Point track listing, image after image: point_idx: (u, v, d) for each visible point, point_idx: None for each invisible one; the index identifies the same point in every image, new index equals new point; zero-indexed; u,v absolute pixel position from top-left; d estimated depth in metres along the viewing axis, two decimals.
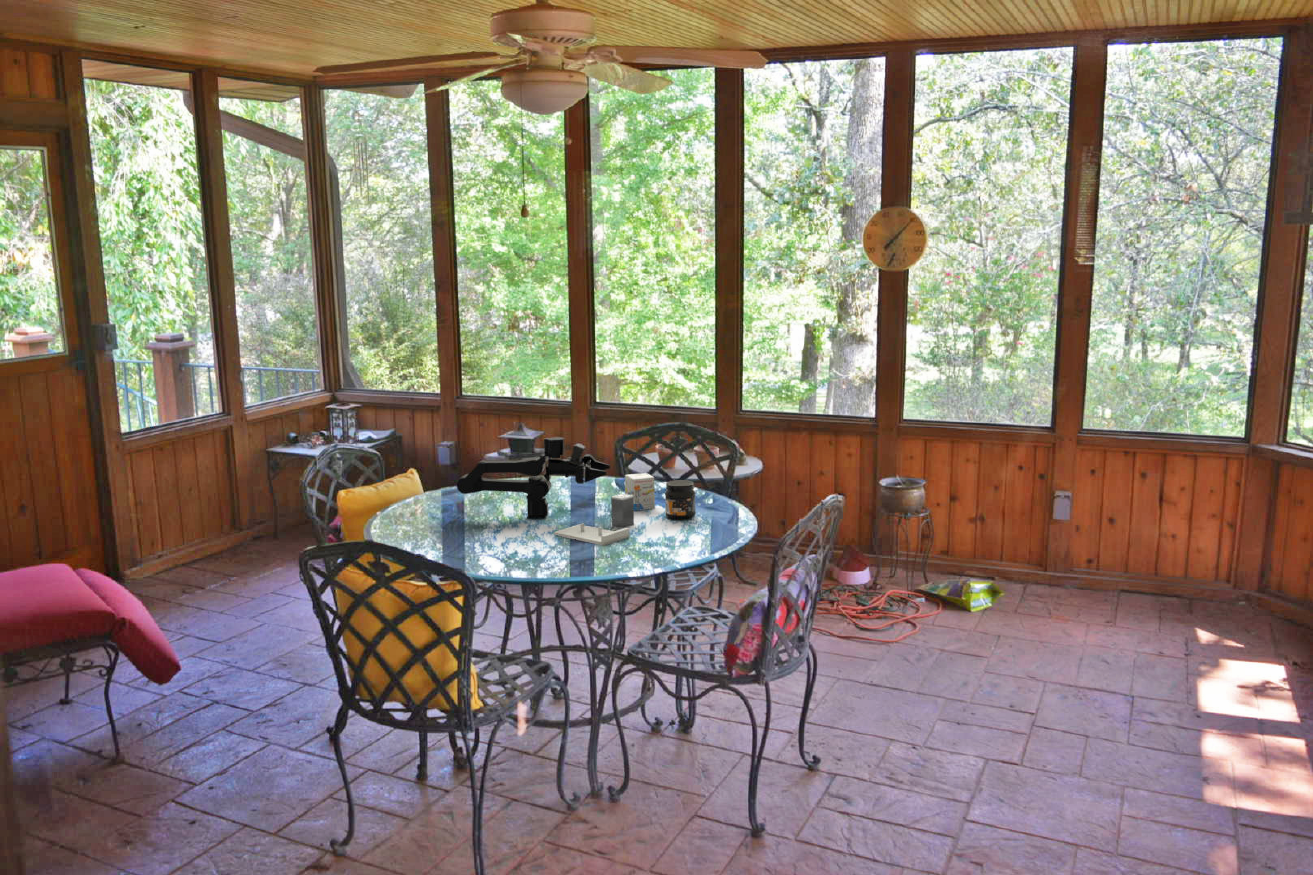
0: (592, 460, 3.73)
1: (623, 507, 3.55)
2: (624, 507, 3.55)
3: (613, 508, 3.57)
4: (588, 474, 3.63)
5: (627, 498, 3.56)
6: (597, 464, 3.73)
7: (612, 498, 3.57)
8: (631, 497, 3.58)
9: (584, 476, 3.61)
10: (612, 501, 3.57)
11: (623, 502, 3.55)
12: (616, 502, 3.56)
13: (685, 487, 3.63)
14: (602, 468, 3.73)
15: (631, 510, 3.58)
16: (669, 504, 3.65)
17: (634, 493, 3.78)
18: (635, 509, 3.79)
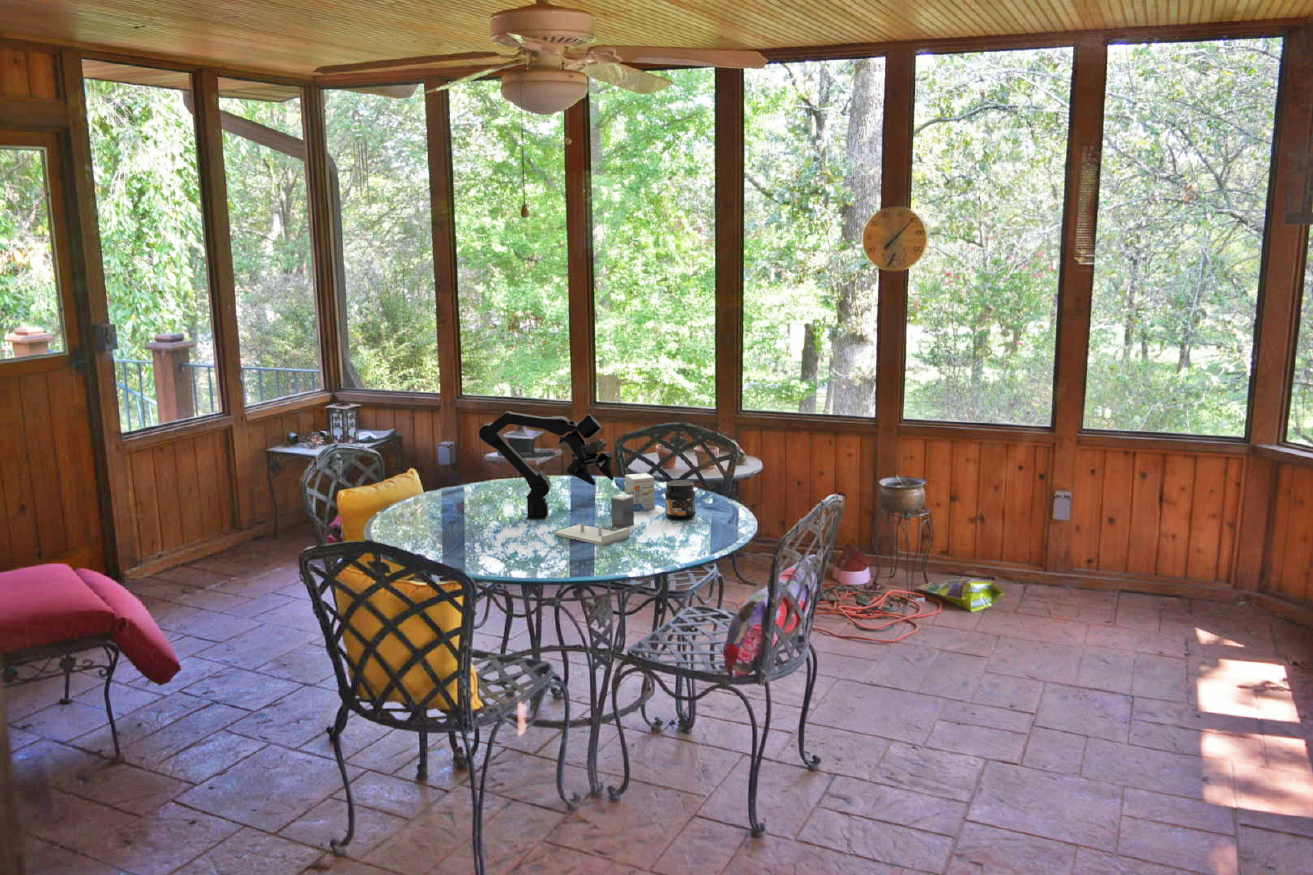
0: (606, 462, 3.67)
1: (623, 507, 3.55)
2: (624, 507, 3.55)
3: (613, 508, 3.57)
4: (581, 472, 3.60)
5: (627, 498, 3.56)
6: (606, 468, 3.67)
7: (612, 498, 3.57)
8: (631, 497, 3.58)
9: (575, 471, 3.59)
10: (612, 501, 3.57)
11: (623, 502, 3.55)
12: (616, 502, 3.56)
13: (685, 487, 3.63)
14: (607, 475, 3.67)
15: (631, 510, 3.58)
16: (669, 504, 3.65)
17: (634, 493, 3.78)
18: (635, 509, 3.79)
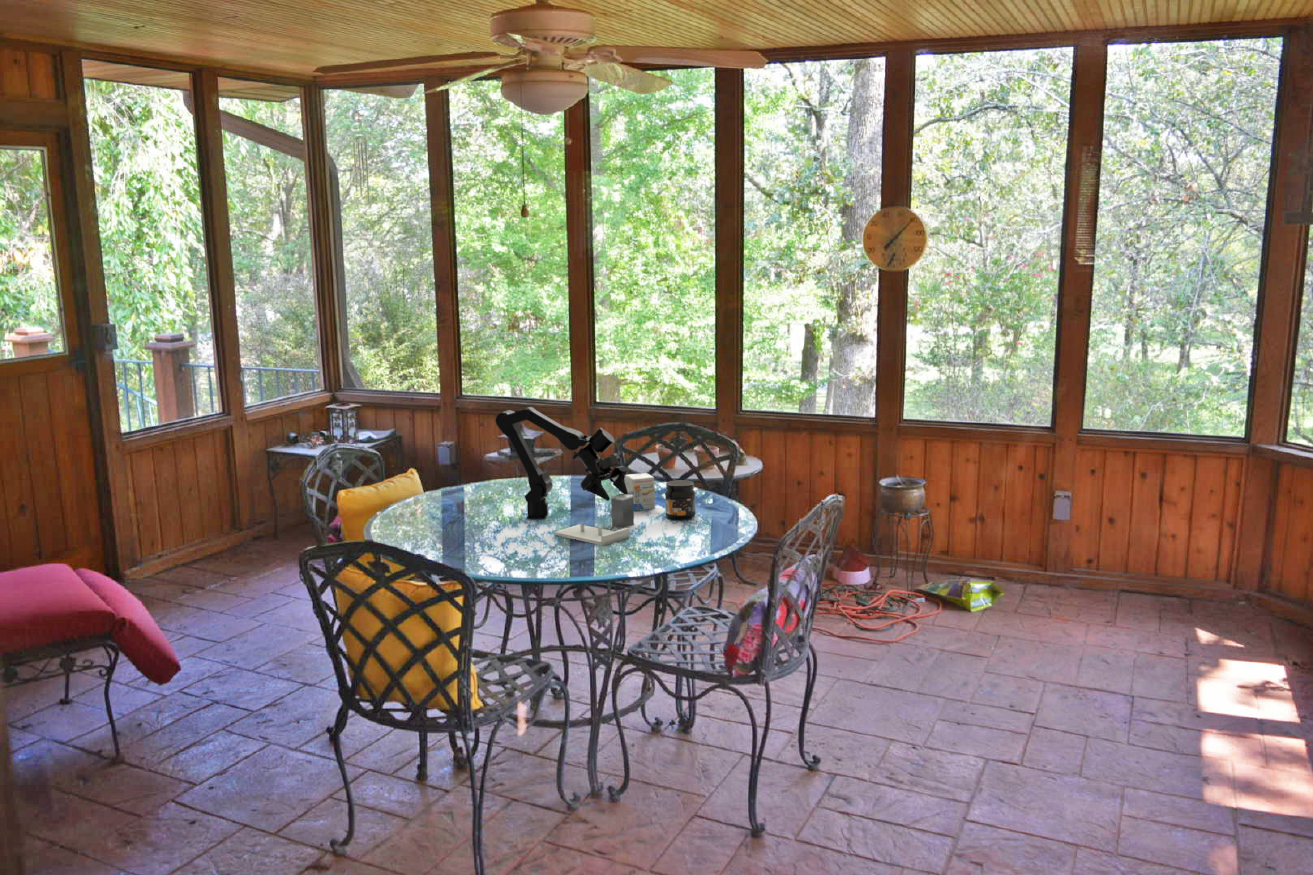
0: (620, 476, 3.64)
1: (623, 507, 3.55)
2: (624, 507, 3.55)
3: (613, 508, 3.57)
4: (595, 487, 3.57)
5: (627, 498, 3.56)
6: (620, 483, 3.64)
7: (612, 498, 3.57)
8: (631, 497, 3.58)
9: (589, 486, 3.56)
10: (612, 501, 3.57)
11: (623, 502, 3.55)
12: (616, 502, 3.56)
13: (685, 487, 3.63)
14: (621, 489, 3.64)
15: (631, 510, 3.58)
16: (669, 504, 3.65)
17: (634, 493, 3.78)
18: (635, 509, 3.79)
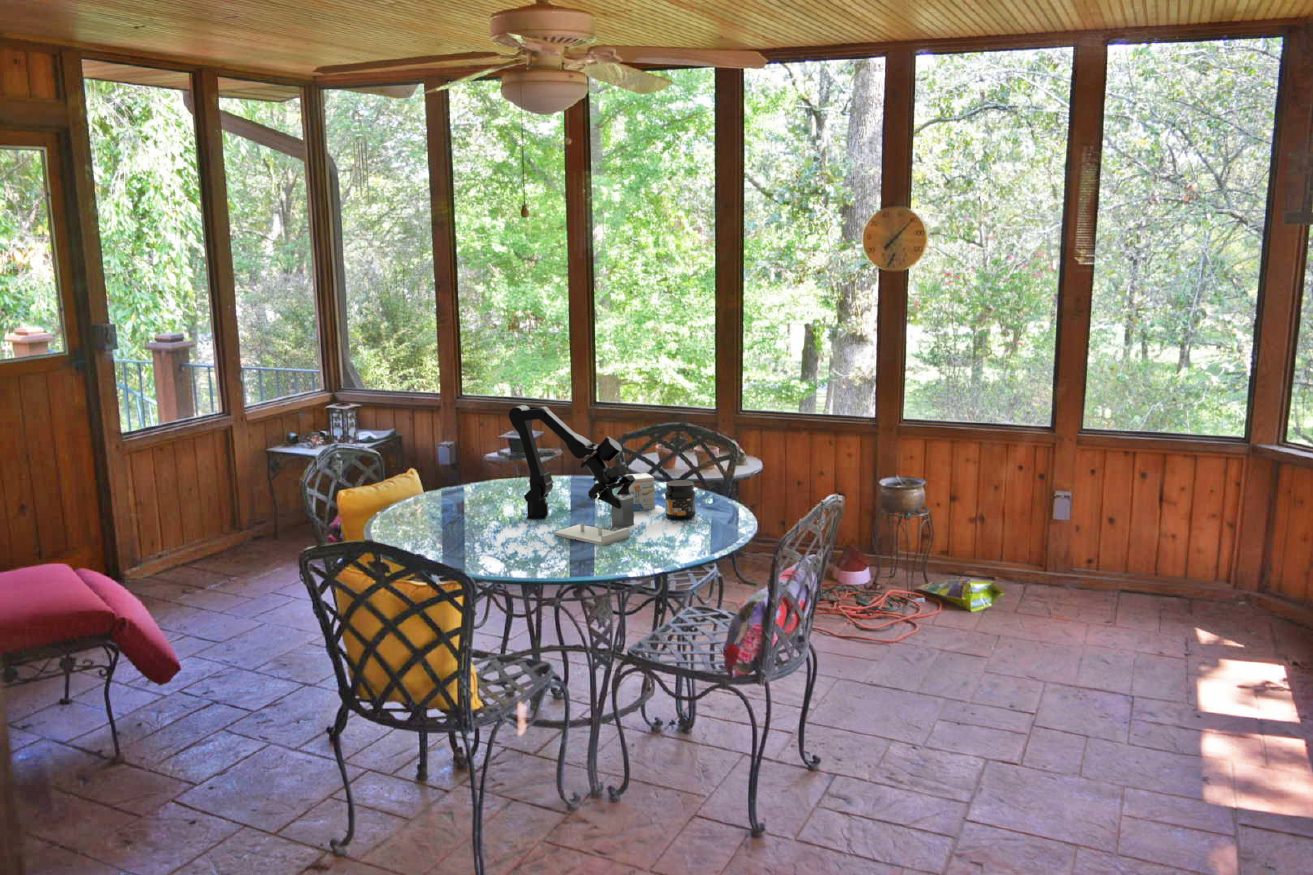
0: (624, 486, 3.61)
1: (623, 507, 3.55)
2: (624, 507, 3.55)
3: (613, 508, 3.57)
4: (606, 495, 3.56)
5: (627, 498, 3.56)
6: (625, 493, 3.61)
7: None
8: (631, 497, 3.58)
9: (600, 494, 3.55)
10: None
11: (623, 502, 3.55)
12: None
13: (685, 487, 3.63)
14: None
15: (631, 510, 3.58)
16: (669, 504, 3.65)
17: (634, 493, 3.78)
18: (635, 509, 3.79)
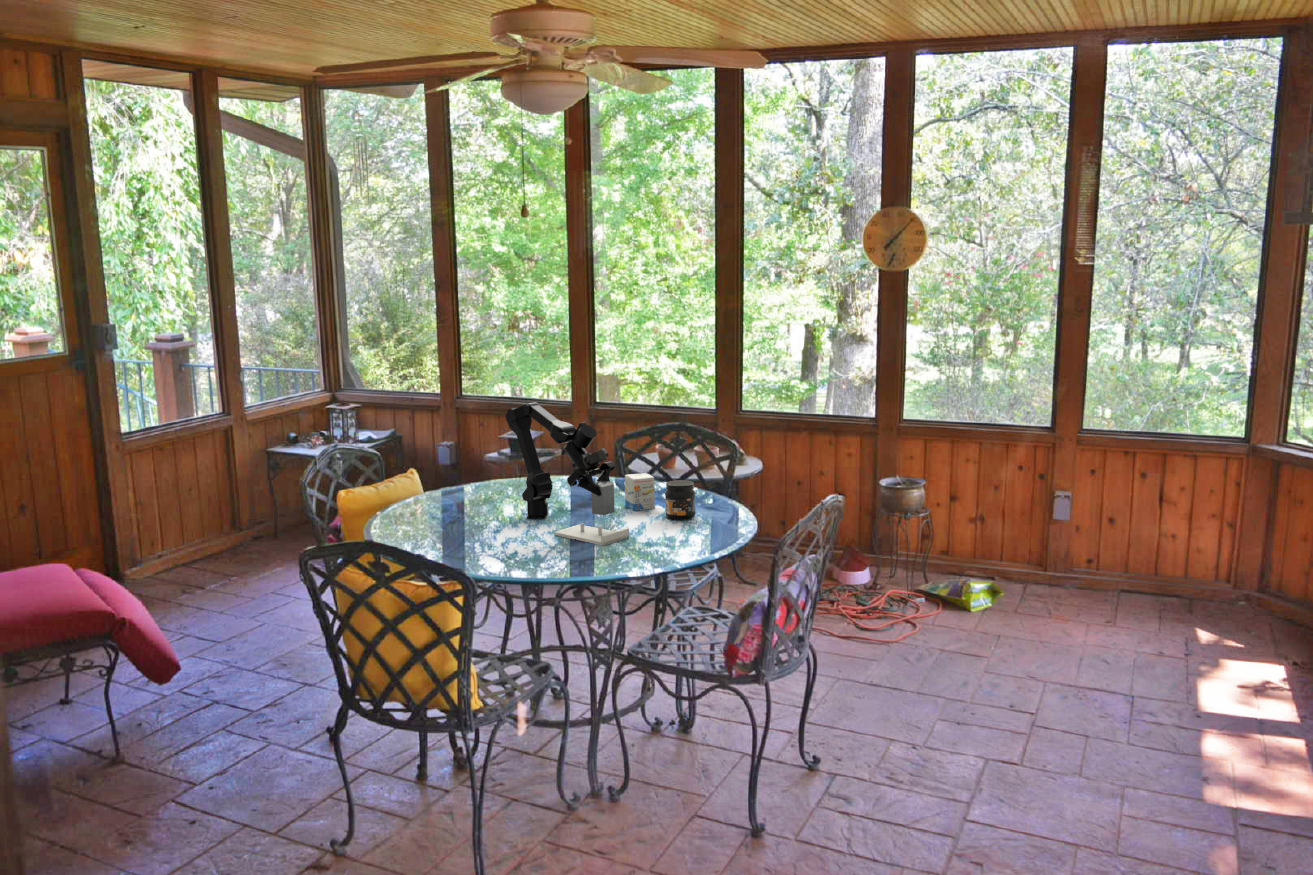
0: (604, 473, 3.52)
1: (603, 494, 3.46)
2: (604, 494, 3.46)
3: (593, 495, 3.48)
4: (586, 482, 3.47)
5: (607, 485, 3.47)
6: (605, 480, 3.52)
7: None
8: (612, 484, 3.48)
9: (579, 481, 3.46)
10: None
11: (603, 489, 3.45)
12: None
13: (685, 487, 3.63)
14: None
15: (612, 497, 3.49)
16: (669, 504, 3.65)
17: (634, 493, 3.78)
18: (635, 509, 3.79)
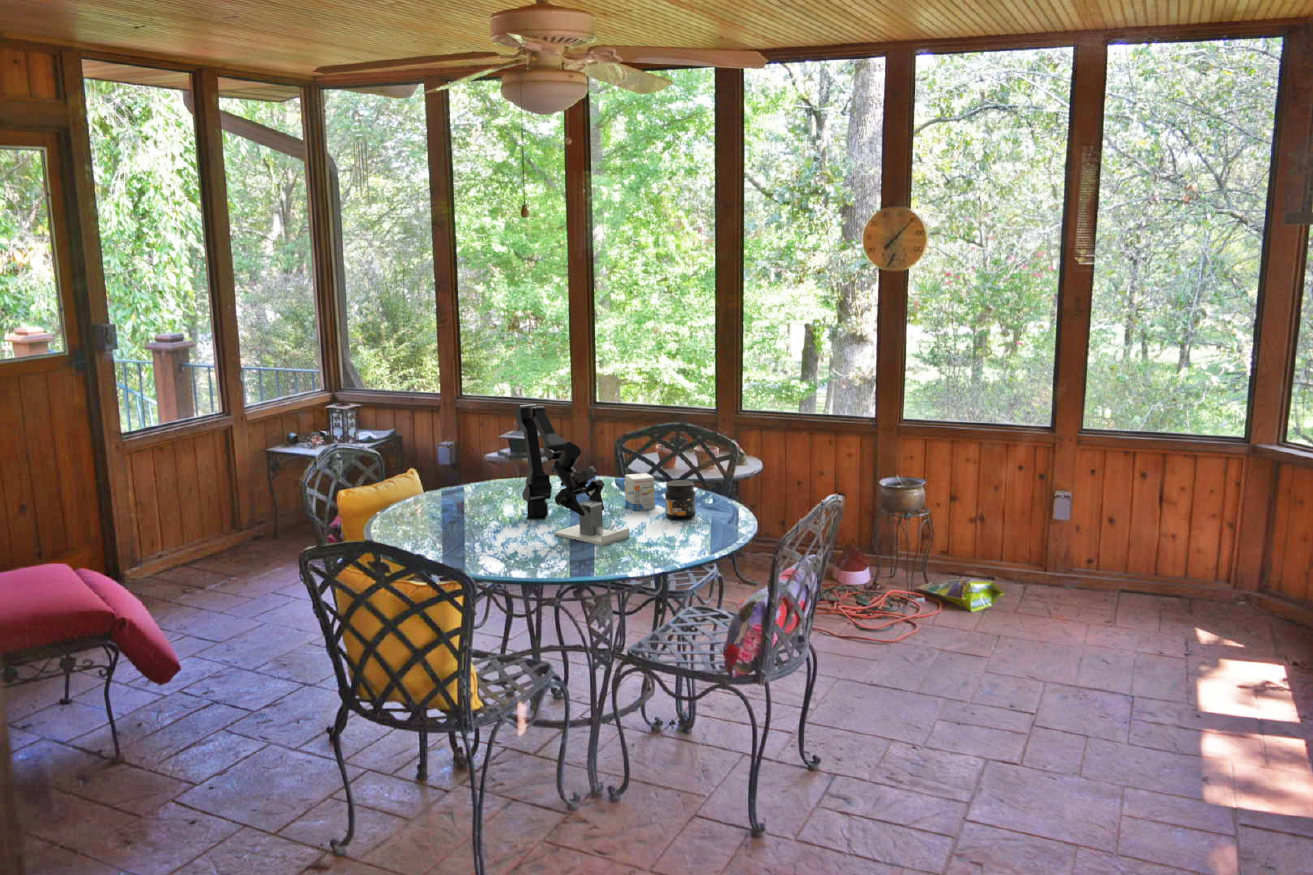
0: (596, 491, 3.49)
1: (591, 514, 3.41)
2: (592, 515, 3.42)
3: None
4: (570, 502, 3.42)
5: (595, 505, 3.43)
6: (597, 497, 3.49)
7: (580, 505, 3.43)
8: (600, 504, 3.44)
9: (563, 501, 3.41)
10: None
11: (591, 510, 3.41)
12: (584, 510, 3.43)
13: (685, 487, 3.63)
14: None
15: (600, 518, 3.45)
16: (669, 504, 3.65)
17: (634, 493, 3.78)
18: (635, 509, 3.79)
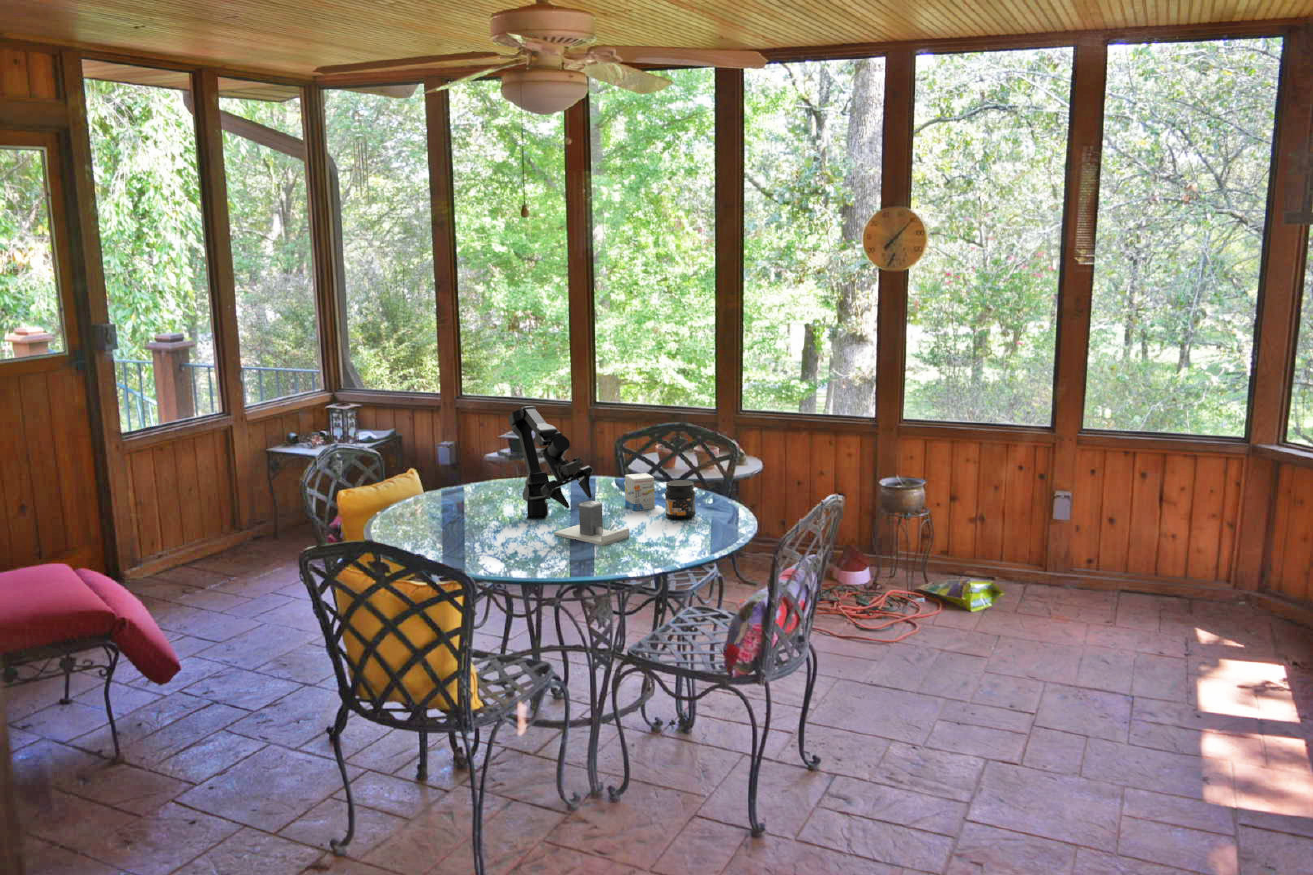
0: (584, 479, 3.54)
1: (591, 514, 3.41)
2: (592, 515, 3.42)
3: (581, 515, 3.44)
4: (556, 494, 3.49)
5: (595, 505, 3.43)
6: (585, 485, 3.54)
7: (580, 505, 3.43)
8: (600, 504, 3.44)
9: (549, 493, 3.48)
10: (580, 508, 3.44)
11: (591, 510, 3.41)
12: (584, 510, 3.43)
13: (685, 487, 3.63)
14: (585, 492, 3.55)
15: (600, 518, 3.45)
16: (669, 504, 3.65)
17: (634, 493, 3.78)
18: (635, 509, 3.79)
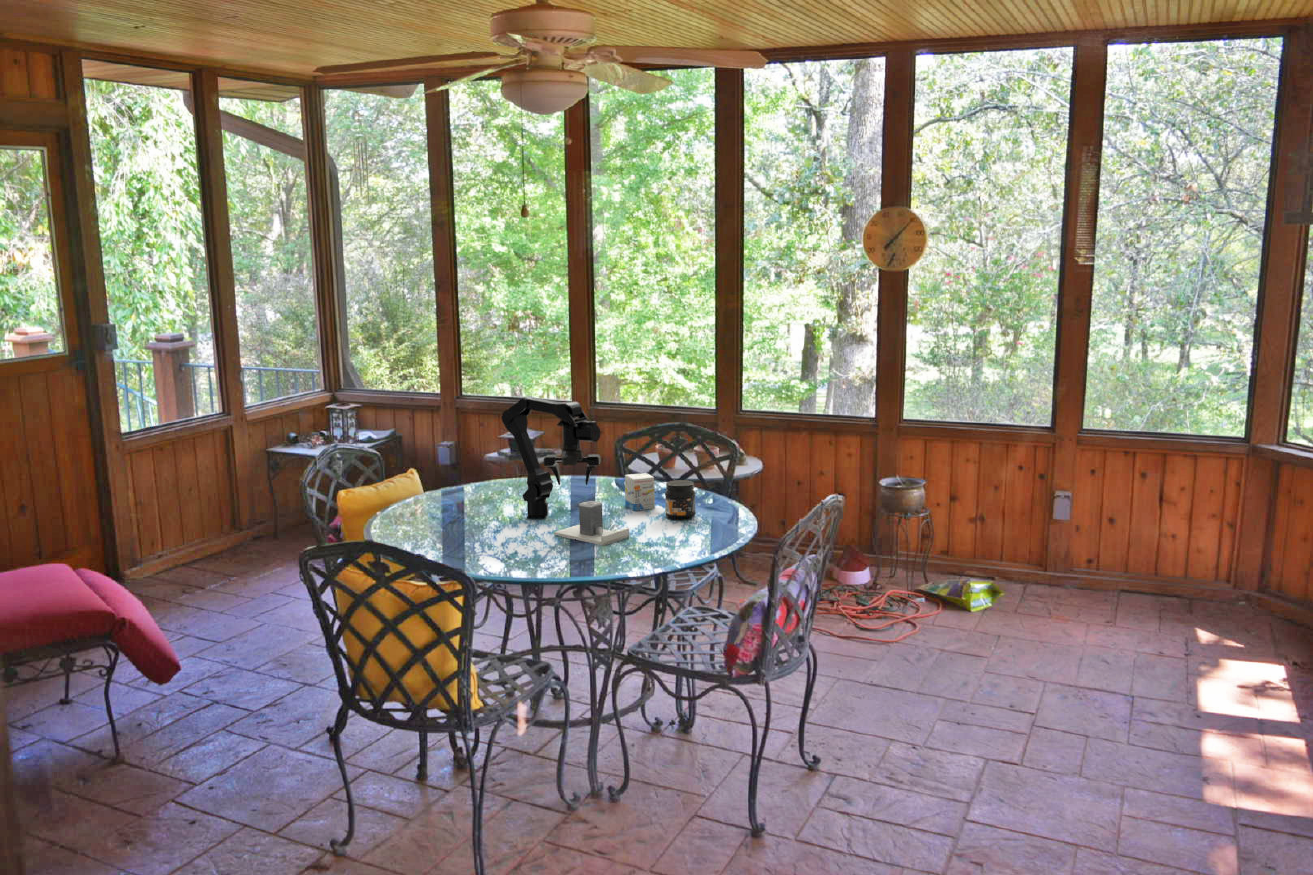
0: None
1: (591, 514, 3.41)
2: (592, 515, 3.42)
3: (581, 515, 3.44)
4: None
5: (595, 505, 3.43)
6: None
7: (580, 505, 3.43)
8: (600, 504, 3.44)
9: None
10: (580, 508, 3.44)
11: (591, 510, 3.41)
12: (584, 510, 3.43)
13: (685, 487, 3.63)
14: None
15: (600, 518, 3.45)
16: (669, 504, 3.65)
17: (634, 493, 3.78)
18: (635, 509, 3.79)
